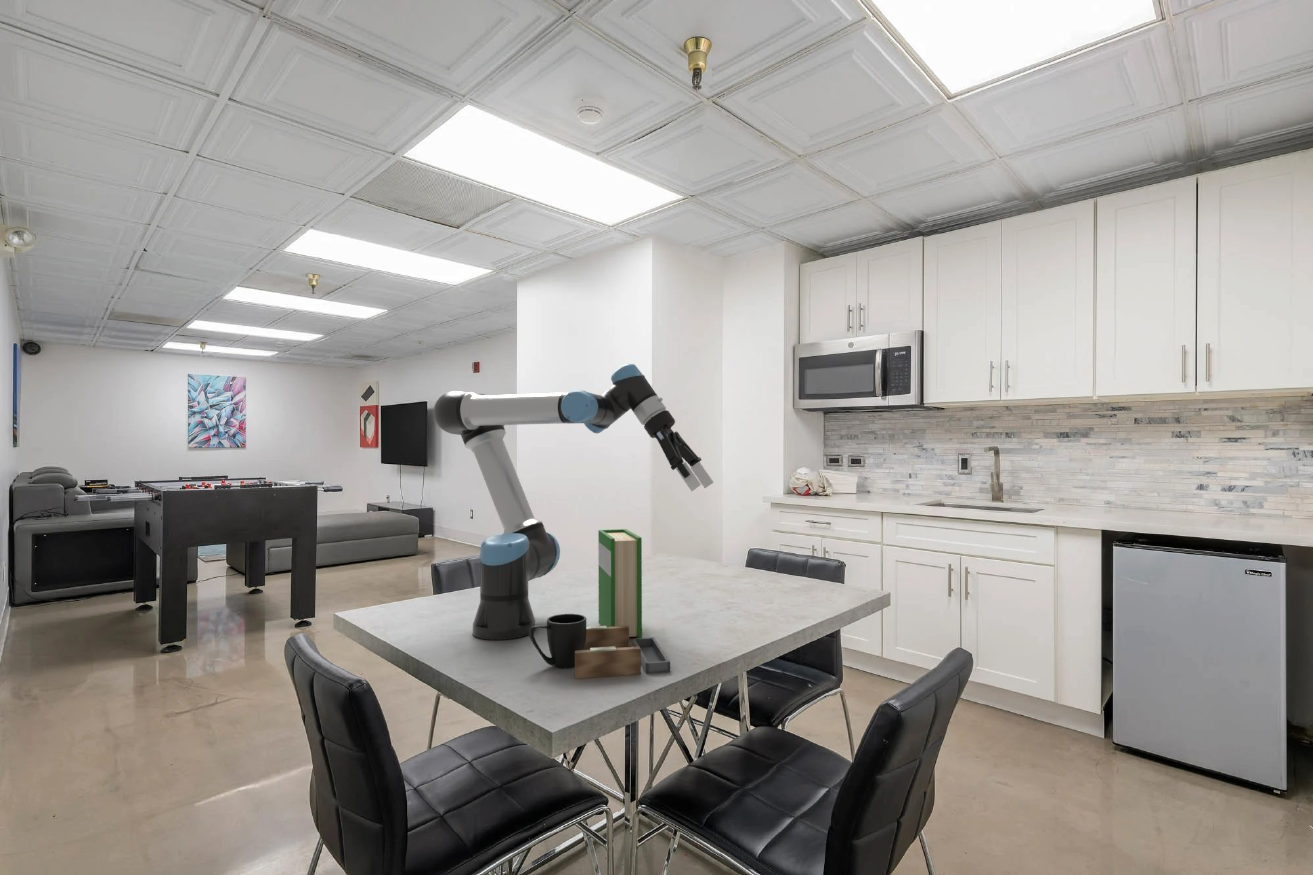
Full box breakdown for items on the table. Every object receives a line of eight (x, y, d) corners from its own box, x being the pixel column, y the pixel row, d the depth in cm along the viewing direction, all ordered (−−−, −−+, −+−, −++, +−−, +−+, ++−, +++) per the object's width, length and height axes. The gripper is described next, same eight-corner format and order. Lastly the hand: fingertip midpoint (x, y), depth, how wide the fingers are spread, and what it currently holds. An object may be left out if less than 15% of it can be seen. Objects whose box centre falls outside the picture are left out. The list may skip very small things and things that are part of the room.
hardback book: (641, 639, 148) (641, 537, 148) (611, 641, 146) (610, 538, 146) (626, 620, 165) (626, 529, 165) (598, 622, 163) (598, 530, 163)
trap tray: (645, 673, 125) (645, 663, 125) (632, 647, 141) (632, 638, 141) (670, 671, 126) (670, 661, 126) (654, 646, 142) (654, 637, 142)
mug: (524, 664, 131) (524, 618, 131) (579, 655, 136) (578, 611, 136) (534, 676, 123) (534, 628, 123) (592, 667, 129) (592, 620, 129)
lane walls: (575, 678, 122) (575, 651, 122) (570, 651, 139) (570, 627, 139) (641, 673, 124) (640, 647, 124) (628, 647, 141) (627, 624, 141)
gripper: (651, 405, 145) (703, 479, 141) (679, 412, 169) (725, 476, 165) (626, 424, 147) (677, 498, 143) (658, 428, 171) (702, 492, 166)
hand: (703, 486), depth 154 cm, fingers open, 13 cm apart
